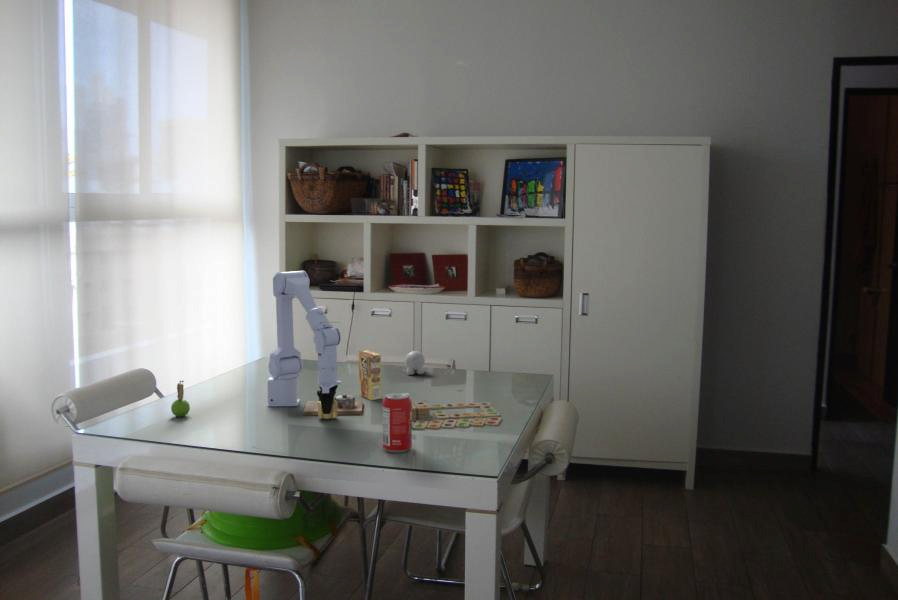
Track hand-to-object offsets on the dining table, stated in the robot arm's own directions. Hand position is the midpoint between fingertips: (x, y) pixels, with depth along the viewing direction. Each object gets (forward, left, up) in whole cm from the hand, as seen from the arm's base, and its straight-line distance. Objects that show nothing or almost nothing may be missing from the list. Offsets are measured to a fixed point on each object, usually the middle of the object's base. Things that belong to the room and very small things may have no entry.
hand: (327, 410), depth 253 cm
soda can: (+21, -32, -3) cm, 38 cm away
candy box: (+12, +27, -3) cm, 30 cm away
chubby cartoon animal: (+28, +66, -3) cm, 72 cm away
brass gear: (0, 0, -2) cm, 2 cm away
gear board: (+1, +11, -2) cm, 11 cm away
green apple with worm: (-45, +4, -3) cm, 45 cm away
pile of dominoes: (+36, +1, -3) cm, 36 cm away
